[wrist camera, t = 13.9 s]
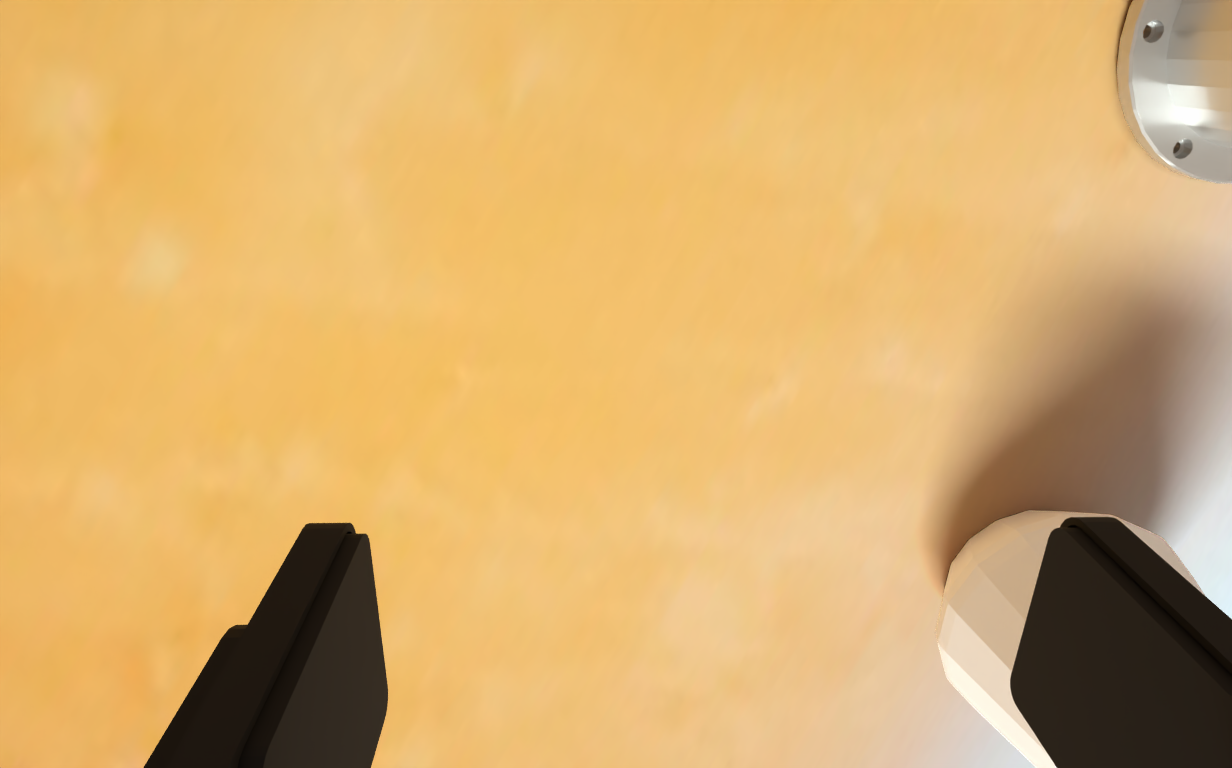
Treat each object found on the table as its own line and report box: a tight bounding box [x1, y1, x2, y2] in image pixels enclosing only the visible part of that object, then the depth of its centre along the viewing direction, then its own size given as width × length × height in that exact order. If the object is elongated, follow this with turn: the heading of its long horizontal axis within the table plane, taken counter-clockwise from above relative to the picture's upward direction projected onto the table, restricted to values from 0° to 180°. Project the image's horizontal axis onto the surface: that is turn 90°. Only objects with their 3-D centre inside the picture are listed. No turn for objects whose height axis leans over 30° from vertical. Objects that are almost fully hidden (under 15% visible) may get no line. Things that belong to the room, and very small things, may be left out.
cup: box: [935, 510, 1204, 768], centre depth 40 cm, size 13×13×14 cm
